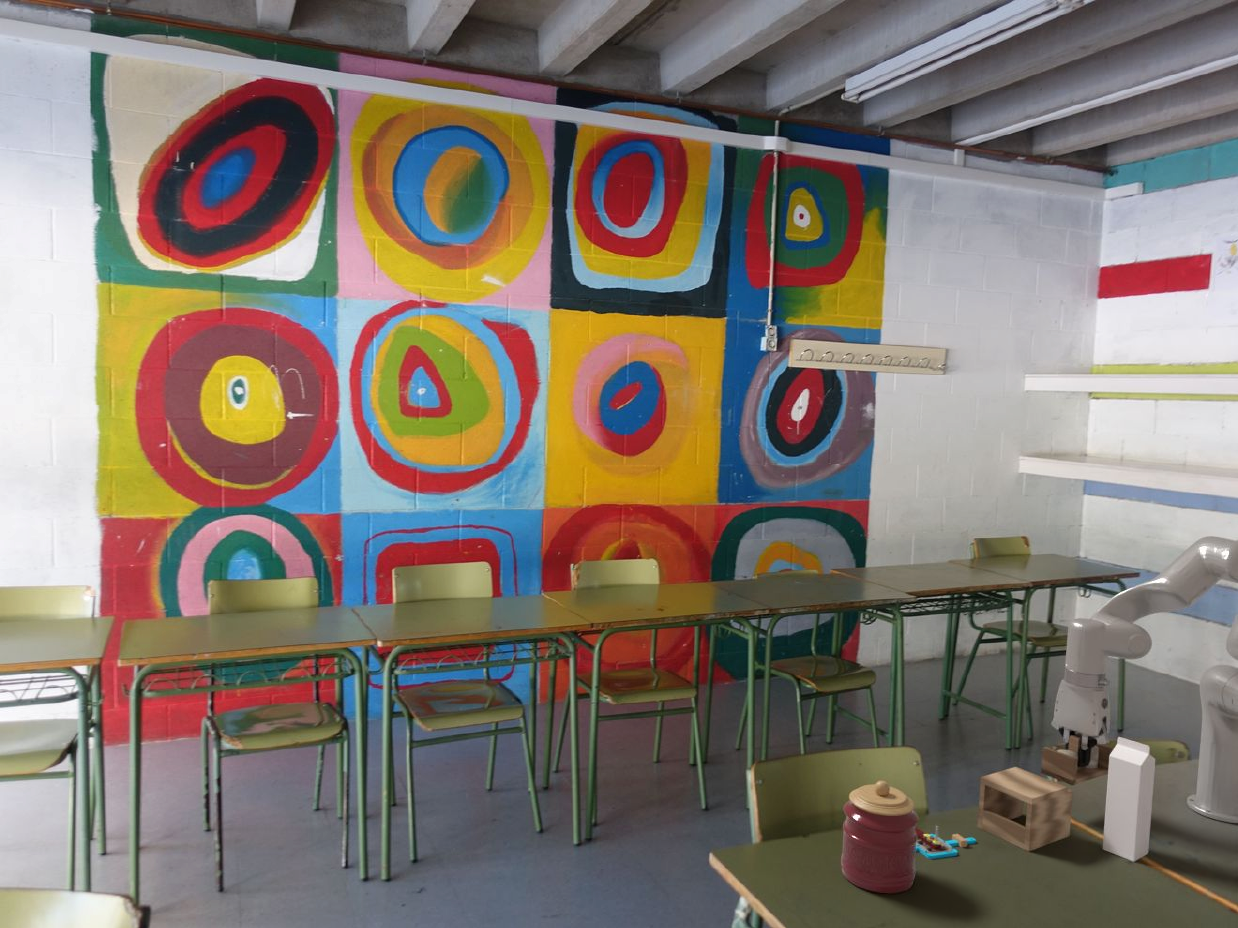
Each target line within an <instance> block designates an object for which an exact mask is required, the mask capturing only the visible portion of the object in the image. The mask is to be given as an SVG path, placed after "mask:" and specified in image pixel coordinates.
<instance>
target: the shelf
mask: <svg viewBox="0 0 1238 928" xmlns="http://www.w3.org/2000/svg"><path fill="white" fill-rule="evenodd" d="M979 786H980V787H979V802H978V805H979V806H978V817H977V828H978V829H980V830H982V831H984V832H986V833H989V834H991V835H993V836H995V837H998V838H999V839H1001V840H1003V841H1005V842H1008V843H1010V844H1012V845H1014V846H1016V847H1018V848H1021V849H1022V850H1025V851H1026V852H1032V851H1034V850H1036V849H1039V848H1042V847H1044V846H1047V845H1049V844H1053V843H1055V842H1057V841H1060V840H1063V839H1066V838H1069V837H1070V835H1071V822H1072V810H1073V809H1072V808H1073V798H1074V797H1073V795H1074V793H1073V792H1074V791H1073V790H1072V789H1069V788H1068V786H1065V785H1063V784H1061V783H1058V782H1056V781H1053V780H1050V779H1048V778H1045V777H1042V776H1041V775H1037V774H1035V773H1033V772H1030V771H1028V770H1025V769H1022V768H1020V767H1017V766H1014V767H1009V768H1007V769H1004V770H1001V771H997V772H994V773H993V772H992V773H991V774H990V773H989V774H987V775H983V776H981V777H980V785H979ZM1024 802H1025V803H1026V813H1025V814H1026V818H1025V825H1022V824H1020V823H1018V822H1016V821H1013V820H1012V819H1016V818H1019V817H1021V816H1024Z"/></svg>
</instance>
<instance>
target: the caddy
mask: <svg viewBox="0 0 1238 928" xmlns="http://www.w3.org/2000/svg"><path fill="white" fill-rule="evenodd" d="M1081 747H1082V734H1081V733H1078V732H1077V733H1076V734H1074V735H1071V736H1069V749H1068V750H1065V749H1061V748H1060V749H1057V750H1055V749H1052V748H1050V747H1047V746H1044V747H1042V756H1041V767H1040V768H1041V771H1040V773H1041V774H1043V775H1045V776H1047V777H1050V778H1052V779H1055V780H1058V781H1059V782H1060V781H1061V782H1063V783H1065V784H1068V785H1070V786H1075V785H1078V784H1081V783H1084V782H1086V781H1090V780H1092V779H1097V778H1099V777H1102V776H1104V775H1108V769H1109V756H1110V754H1111V752H1112V751H1113V750H1114V747H1113V746H1110V745H1107V744H1098V745H1096V746H1094V747H1093V748H1091V758H1090V763H1089V765H1088V766H1085V767H1081V768H1080V767H1078V753H1079V748H1081Z"/></svg>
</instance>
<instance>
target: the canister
mask: <svg viewBox="0 0 1238 928" xmlns="http://www.w3.org/2000/svg"><path fill="white" fill-rule="evenodd" d="M848 798H849V800H848V801H847V802H846V803H845V804H844V805H843V812H844V814H845V816H846V817H845V820H844V821H843V824H842V830H843V837H842V853H841V856H840V865H841V866H840V867H841V873H842V875H843V876H844V878H846V880H848V881H849V882H850V883H851V884H852V885H855V887H858V888H861V889H863V890H866V891H869V892H874V893H879V894H898V893H901V892H904V891H907V890H909V889H910V888H911V887H912V886H913V884H914V880H915V878H916V866H915V865H916V852H917V851H916V842H917V834H916V832H915V828H916V826H917V825H918V824H919V815H918V814H917V813H916V812H915V810H914V809H915V803H914V801H913V799H911V798H910V797H908V795H906V794H905V793H904V792H903V791H902V790H900V789H898V788H895V787H893V786H890V785H889V783H888V782H886V781H885V780H879V781H877V782H876V783H874V784H872V783H871V784H866V785H865V784H864V785H862V786H860V787H858V788H856V789H853V790H852V791H851V792H850V793H849V795H848Z"/></svg>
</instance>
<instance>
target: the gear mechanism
mask: <svg viewBox="0 0 1238 928" xmlns="http://www.w3.org/2000/svg"><path fill="white" fill-rule="evenodd" d="M915 832H916V834H917V842H916V852H919V853H921V855H923V856H925V857H926V858H927V859H929V860H935V859H943V858H948V857H956V856H957V855H958V850H957V849H956V848H954V847H957V846H959V847H960V848H966V847H968V845H971V844H972V845H973V844H977V839H976V838H974V837H973V836H972V837H967V838H964V837H963V836H962V835H960V834H958V833H954V834H951V840H944V839H942V838H941V837H939V826H938V825H935V834H933V833H925V832H923V831H922V830H921V829H920V828H918V827H915Z"/></svg>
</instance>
